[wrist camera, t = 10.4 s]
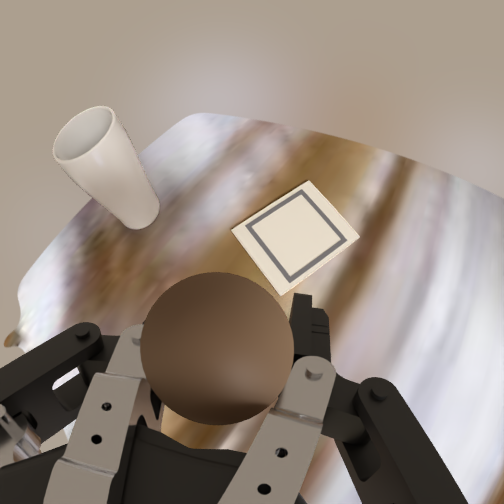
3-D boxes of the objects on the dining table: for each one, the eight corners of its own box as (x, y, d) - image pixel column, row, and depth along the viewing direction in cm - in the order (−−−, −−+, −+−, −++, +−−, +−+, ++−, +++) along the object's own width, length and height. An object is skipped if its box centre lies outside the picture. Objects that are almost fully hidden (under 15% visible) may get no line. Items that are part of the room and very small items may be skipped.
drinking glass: (129, 247, 33) (56, 178, 19) (110, 208, 35) (47, 135, 21) (176, 215, 34) (125, 128, 20) (153, 179, 36) (105, 94, 22)
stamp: (259, 294, 17) (241, 208, 8) (312, 365, 15) (367, 370, 6) (187, 343, 16) (86, 315, 7) (237, 415, 15) (188, 484, 5)
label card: (308, 181, 35) (308, 180, 34) (359, 237, 32) (359, 236, 31) (231, 231, 33) (230, 229, 33) (280, 296, 30) (280, 295, 30)
